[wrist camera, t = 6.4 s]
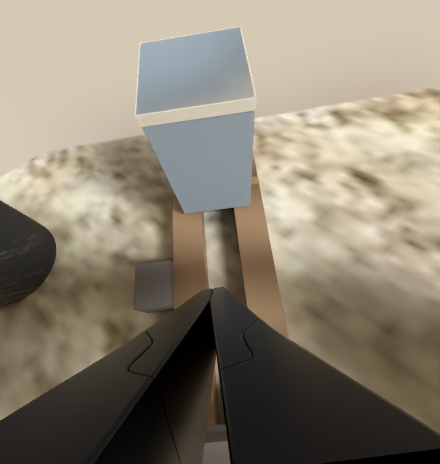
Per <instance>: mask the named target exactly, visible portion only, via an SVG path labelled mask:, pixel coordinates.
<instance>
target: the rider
mask: <svg viewBox="0 0 440 464" xmlns="http://www.w3.org/2000/svg"><path fill="white" fill-rule="evenodd" d="M256 100H257V99H256V93H255V89H254V84H253V80H252V75H251V71H250V66H249V62H248V57H247V52H246V48H245V43H244V39H243V35H242V30H241V27H240V26H239V27H234V28H227V29H221V30H215V31H209V32H203V33H197V34H191V35H185V36H179V37H173V38H166V39H161V40H154V41H149V42H142V43H140V45H139V60H138V75H137V90H136V105H135V117H136V120H137V121H138V124H139V125H140V127H142V128H143V130H144V132H145V134H146V136H147V138H148V140H149V142H150V144H151V147H152V149H153V151H154V153H155V155H156V157H157V159H158V161H159V163H160V165H161V167H162V169H163V171H164V173H165V175H166V177H167V179H168V181H169V183H170V185H171V187H172V189H173V191H174V193H175V195H176V197H177V199H178V201H179V203H180V205H181V207H182V209H183V211H184V213H185V214H188V213H195V212H203V211H211V210H219V209H227V208H235V207H242V206H250V202H251V180H252V157H253V135H254V113H255V110H256Z"/></svg>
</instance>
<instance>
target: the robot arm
mask: <svg viewBox="0 0 440 464" xmlns="http://www.w3.org/2000/svg"><path fill="white" fill-rule="evenodd" d="M216 354H217V362H218V370H219V378H220V386H221V394H222V402H223V409H224V417H225V425H226V433H227V441H228V448H229V456H230V464H440V433H438V432H437V431H435V430H434V429H432V428H430V427H429V426H427V425H426V424H424V423H422V422H421V421H419V420H418V419H416V418H414V417H413V416H411V415H410V414H408V413H406V412H405V411H403V410H402V409H400V408H398V407H397V406H395V405H394V404H392V403H390V402H389V401H387V400H386V399H384V398H382V397H381V396H379V395H378V394H376V393H374V392H373V391H371V390H370V389H368V388H366V387H365V386H363V385H362V384H360V383H358V382H357V381H355V380H354V379H352V378H350V377H349V376H347V375H346V374H344V373H342V372H341V371H339V370H338V369H336V368H334V367H333V366H331V365H330V364H328V363H326V362H325V361H323V360H322V359H320V358H318V357H317V356H315V355H314V354H312V353H310V352H309V351H307V350H306V349H304V348H302V347H301V346H299V345H298V344H296V343H294V342H293V341H291V340H290V339H288V338H286V337H285V336H283V335H282V334H280V333H279V332H277V331H276V330H275V329H273V328H272V327H271V326H270V325H268V324H267V323H266V322H265V321H263V320H262V319H261V318H259V317H258V316H257V315H256V314H255V313H253V312H252V311H251V310H250V309H249V308H248V307H246V306H245V305H244V304H243V303H242V302H241V301H239V300H238V299H237V298H236V297H235V296H233V295H232V294H231V293H230V292H229V291H228V290H226V289H225V288H224V287H220V288H214V289H203V290H201V291H200V292H199V293H197V294H196V295H194V296H193V297H191V298H190V299H189V300H187V301H186V302H184V303H183V304H182V305H180V306H179V307H177V308H176V309H175V310H173V311H172V312H170V313H169V314H168V315H166V316H165V317H163V318H162V319H160V320H159V321H158V322H156V323H155V324H153V325H152V326H151V327H149V328H148V329H146V330H145V331H143V332H141V333H140V334H139V335H137V336H136V337H134V338H133V339H131V340H130V341H128V342H127V343H126V344H124V345H123V346H121V347H119V348H118V349H116V350H115V351H113V352H111V353H110V354H108V355H107V356H105V357H104V358H102V359H100V360H99V361H97V362H95V363H94V364H92V365H90V366H89V367H87V368H86V369H84V370H82V371H81V372H79V373H77V374H76V375H74V376H72V377H71V378H69V379H68V380H66V381H64V382H63V383H61V384H59V385H58V386H56V387H55V388H53V389H51V390H50V391H48V392H46V393H45V394H43V395H41V396H40V397H38V398H37V399H35V400H33V401H32V402H30V403H28V404H27V405H25V406H23V407H22V408H20V409H19V410H17V411H15V412H14V413H12V414H10V415H9V416H7V417H5V418H4V419H2V420H1V421H0V464H202V461H203V453H204V445H205V438H206V430H207V422H208V414H209V407H210V399H211V391H212V383H213V376H214V368H215V360H216Z"/></svg>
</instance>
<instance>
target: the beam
mask: <svg viewBox="0 0 440 464" xmlns="http://www.w3.org/2000/svg"><path fill="white" fill-rule="evenodd" d="M172 211H173V262H172V261H171V260H167V261H159V262H150V263H142V264H136V273H135V294H134V310H137V311H142V312H146V313H150V312H160V311H169V310H175V309H176V308H177V307H179V306H180V305H182V304H183V303H184V302H186V301H187V300H189V299H190V298H191V297H193V296H194V295H196V294H197V293H199V292H200V291H201V290H203V289H209V285H208V272H207V258H206V245H205V231H204V217H203V212H195V213H188V214H185V213H184V211H183V209H182V207H181V205H180V203H179V201H178V199H177V197H176V195H175V193H174V191H173V189H172ZM234 215H235V222H236V230H237V237H238V245H239V253H240V260H241V268H242V275H243V283H244V290H245V298H246V306H247V307H248V308H249V309H250V310H251V311H252V312H253V313H255V314H256V315H257V316H258V317H259V318H261V319H262V320H263V321H265V322H266V323H267V324H268V325H270V326H271V327H272V328H273V329H275V330H276V331H277V332H279V333H280V334H282V335H283V336H285V337H286V338H288V335H287V330H286V325H285V319H284V314H283V309H282V304H281V298H280V293H279V288H278V282H277V277H276V272H275V266H274V261H273V256H272V251H271V245H270V240H269V235H268V229H267V224H266V219H265V213H264V208H263V203H262V198H261V192H260V187H259V180H258V176H257V171H256V166H255V160H254V155H253V157H252V180H251V202H250V206H242V207H235V208H234ZM202 464H230V456H229V448H228V441H227V433H226V425H225V424H220V425H219V421H218V407H217V394H216V380H215V368H214V376H213V383H212V391H211V399H210V407H209V414H208V422H207V430H206V438H205V445H204V453H203V461H202Z"/></svg>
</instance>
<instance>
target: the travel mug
mask: <svg viewBox="0 0 440 464" xmlns="http://www.w3.org/2000/svg"><path fill="white" fill-rule="evenodd" d="M55 256H56V244H55V240H54V238H53V236H52V234H51V233H50V232H49V231H48V230H47V229H46V228H45V227H43V226H42V225H41V224H39V223H37V222H36V221H34V220H32V219H31V218H29V217H27V216H26V215H24V214H22V213H21V212H19V211H17V210H16V209H14V208H12V207H10V206H9V205H7V204H5V203H4V202H2V201H0V305H6V304H10V303H14V302H17V301H19V300H21V299H23V298H25V297H26V296H28V295H30V294H31V293H32V292H33V291H35V290H36V289H37V288H38V287H39V286H40V285H41V284H42V283H43V281H44V280H45V279H46V277H47V276H48V274H49V272H50V271H51V269H52V266H53V264H54V260H55Z"/></svg>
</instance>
